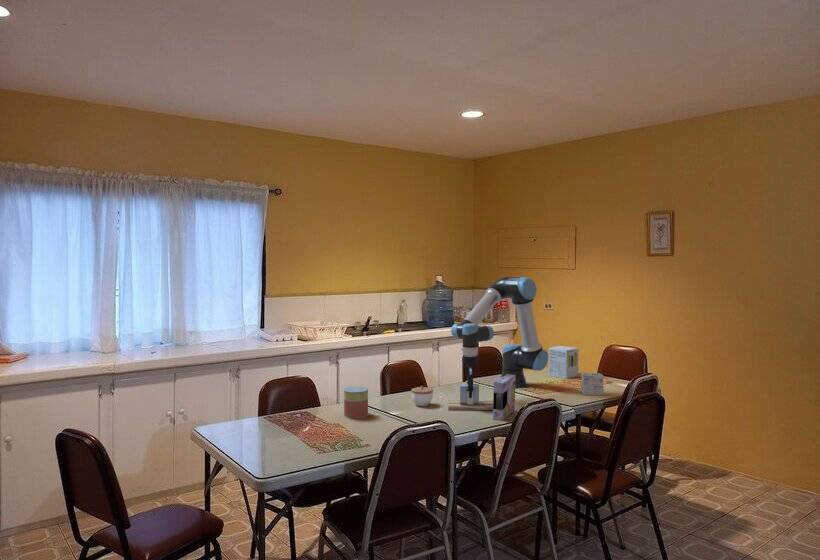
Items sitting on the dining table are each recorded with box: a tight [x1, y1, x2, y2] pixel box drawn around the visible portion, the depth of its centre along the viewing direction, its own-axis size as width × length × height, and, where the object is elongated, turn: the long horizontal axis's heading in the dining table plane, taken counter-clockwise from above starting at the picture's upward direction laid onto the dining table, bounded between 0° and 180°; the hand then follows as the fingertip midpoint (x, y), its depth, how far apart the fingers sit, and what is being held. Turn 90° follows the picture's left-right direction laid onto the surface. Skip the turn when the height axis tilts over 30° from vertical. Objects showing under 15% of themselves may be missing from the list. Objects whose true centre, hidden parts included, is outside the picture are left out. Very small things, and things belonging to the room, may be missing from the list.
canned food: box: [343, 386, 369, 419], centre depth 270 cm, size 11×11×12 cm
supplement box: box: [548, 345, 579, 380], centre depth 357 cm, size 13×13×18 cm
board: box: [447, 399, 493, 411], centre depth 283 cm, size 13×26×2 cm, turn 86°
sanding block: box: [459, 383, 480, 405], centre depth 283 cm, size 5×9×9 cm, turn 86°
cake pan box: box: [492, 374, 516, 421], centre depth 268 cm, size 19×5×18 cm, turn 151°
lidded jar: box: [410, 385, 434, 407], centre depth 288 cm, size 11×11×9 cm
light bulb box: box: [581, 372, 605, 396], centre depth 310 cm, size 11×7×11 cm, turn 84°
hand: (470, 402), depth 283 cm, fingers closed on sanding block, 5 cm apart
